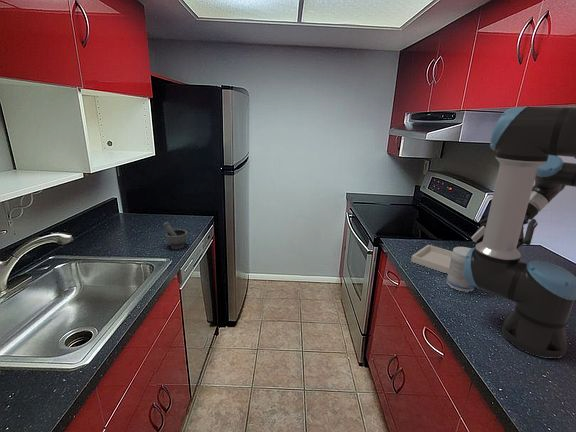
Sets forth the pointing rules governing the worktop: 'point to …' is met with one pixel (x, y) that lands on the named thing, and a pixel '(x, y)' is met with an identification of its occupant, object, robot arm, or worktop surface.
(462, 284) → the supplement tub
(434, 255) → the tray
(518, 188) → the robot arm
